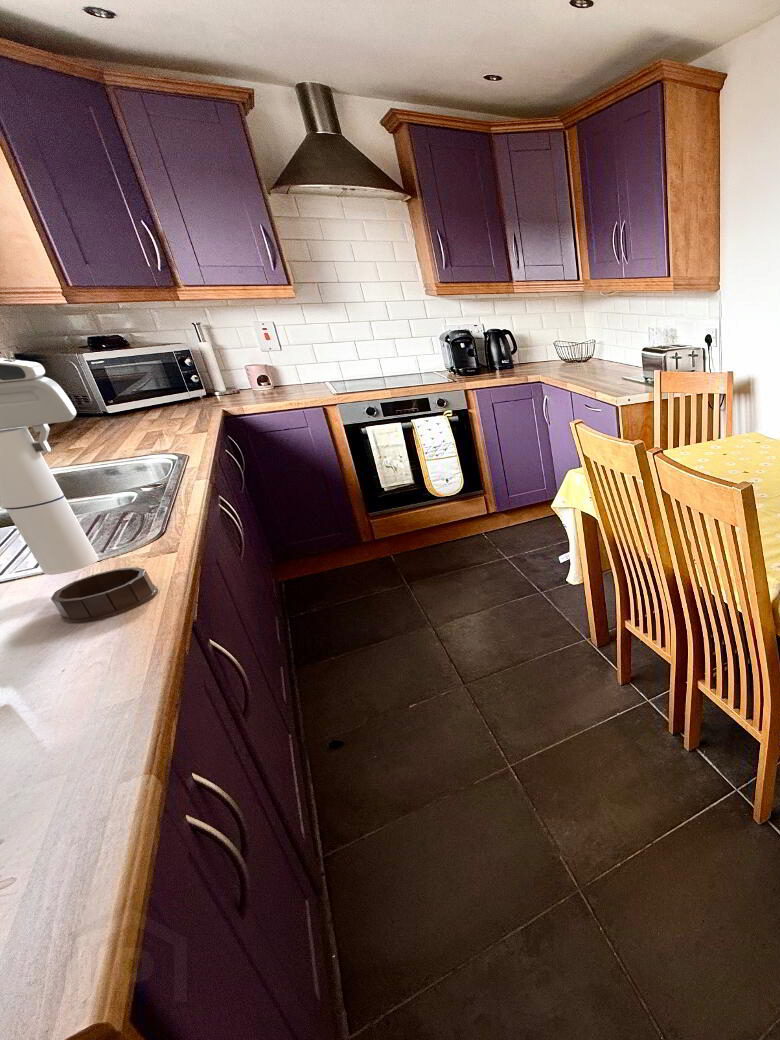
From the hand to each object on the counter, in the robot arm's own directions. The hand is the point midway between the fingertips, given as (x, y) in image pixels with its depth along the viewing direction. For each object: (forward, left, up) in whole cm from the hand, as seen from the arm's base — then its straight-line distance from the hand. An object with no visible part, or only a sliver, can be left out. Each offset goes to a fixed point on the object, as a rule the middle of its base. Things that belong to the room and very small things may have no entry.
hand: (9, 456), depth 98 cm
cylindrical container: (0, 0, -21) cm, 21 cm away
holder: (+5, -13, -25) cm, 29 cm away
